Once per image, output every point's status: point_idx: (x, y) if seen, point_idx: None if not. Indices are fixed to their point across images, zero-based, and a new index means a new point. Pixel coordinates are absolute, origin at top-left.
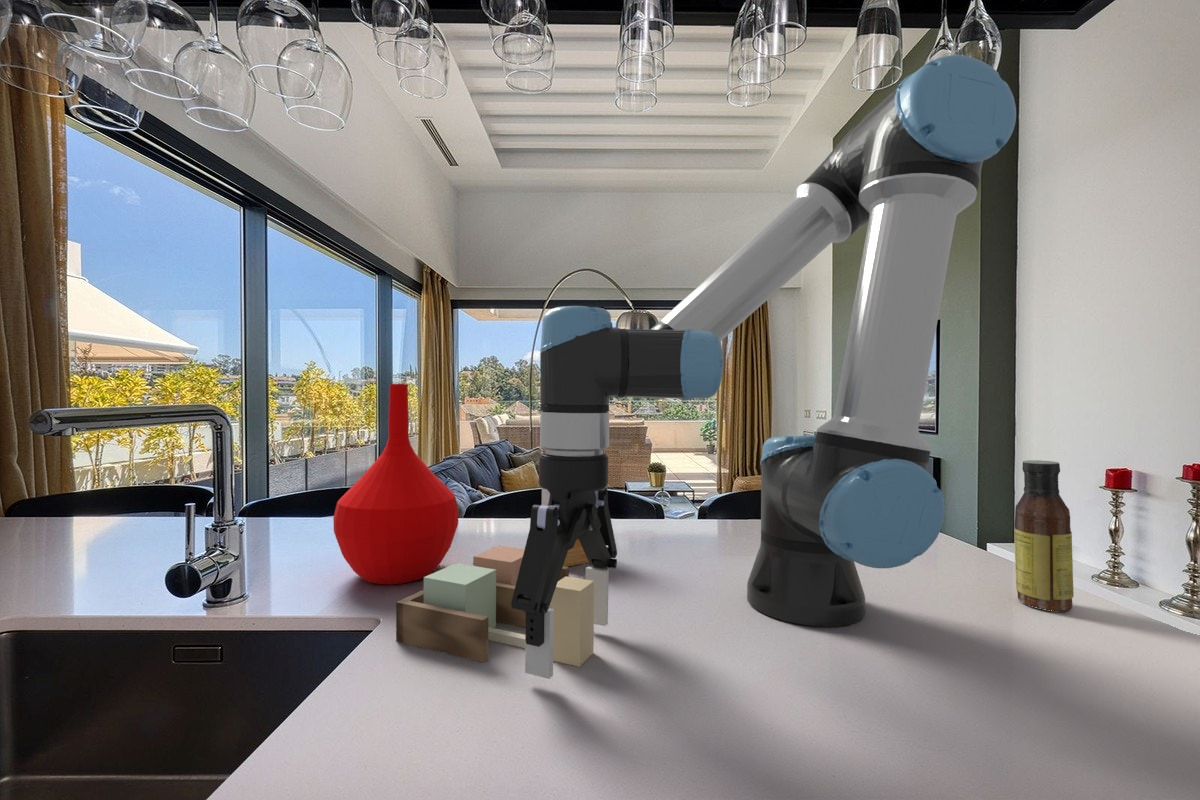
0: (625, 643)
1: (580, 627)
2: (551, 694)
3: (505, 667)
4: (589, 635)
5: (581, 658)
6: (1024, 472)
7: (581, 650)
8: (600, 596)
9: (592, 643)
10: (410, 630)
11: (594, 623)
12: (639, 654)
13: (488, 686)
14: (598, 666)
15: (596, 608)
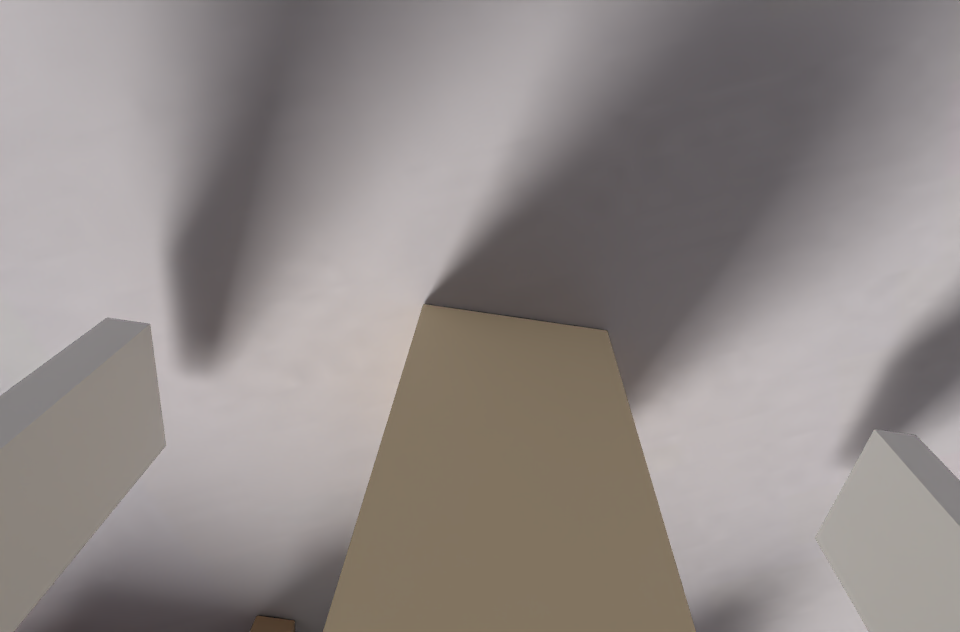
0: (218, 148)
1: (638, 483)
2: (906, 378)
3: None
4: (470, 381)
5: (587, 345)
6: None
7: (592, 371)
8: (11, 493)
9: (431, 336)
10: None
11: (156, 391)
12: (330, 7)
13: (838, 602)
14: (574, 236)
15: (90, 446)
